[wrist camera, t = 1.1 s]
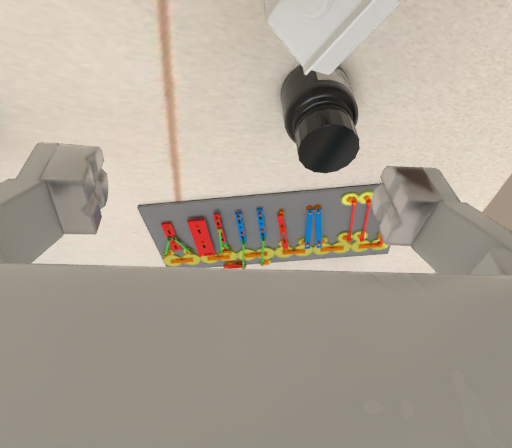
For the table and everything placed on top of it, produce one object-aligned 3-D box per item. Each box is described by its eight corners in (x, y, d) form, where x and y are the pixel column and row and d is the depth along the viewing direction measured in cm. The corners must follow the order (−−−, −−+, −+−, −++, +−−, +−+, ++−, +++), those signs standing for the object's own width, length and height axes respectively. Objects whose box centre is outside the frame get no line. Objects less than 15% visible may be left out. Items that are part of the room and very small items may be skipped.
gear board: (167, 278, 78) (135, 215, 64) (168, 268, 80) (138, 204, 65) (390, 261, 76) (410, 191, 61) (386, 251, 77) (405, 181, 63)
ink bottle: (359, 104, 51) (380, 162, 44) (300, 133, 55) (310, 192, 47) (332, 42, 45) (351, 97, 37) (266, 78, 48) (272, 136, 41)
